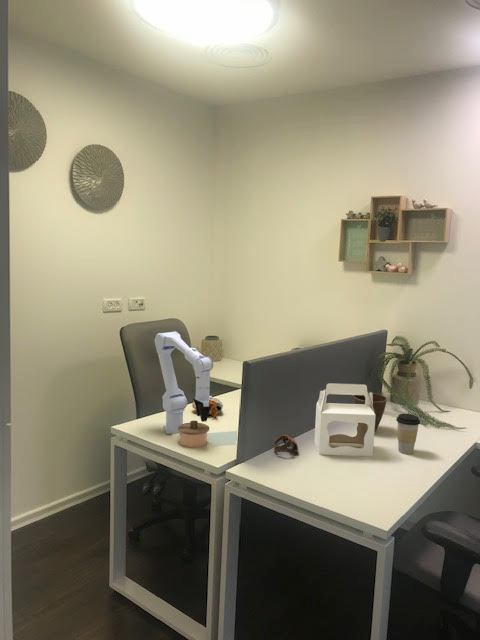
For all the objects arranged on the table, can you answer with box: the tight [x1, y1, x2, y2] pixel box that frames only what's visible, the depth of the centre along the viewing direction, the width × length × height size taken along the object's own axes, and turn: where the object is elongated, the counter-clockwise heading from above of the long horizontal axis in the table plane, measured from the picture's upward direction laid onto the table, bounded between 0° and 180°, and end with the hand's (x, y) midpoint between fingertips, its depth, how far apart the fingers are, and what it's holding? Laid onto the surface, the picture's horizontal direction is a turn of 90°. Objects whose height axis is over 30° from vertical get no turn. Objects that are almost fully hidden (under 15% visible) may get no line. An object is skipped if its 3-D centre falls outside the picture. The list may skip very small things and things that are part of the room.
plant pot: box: [353, 392, 388, 433], centre depth 233 cm, size 15×15×16 cm
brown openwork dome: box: [273, 433, 300, 456], centre depth 205 cm, size 12×10×8 cm
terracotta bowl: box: [179, 432, 208, 448], centre depth 210 cm, size 11×11×6 cm
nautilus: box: [191, 397, 224, 421], centre depth 247 cm, size 8×22×15 cm
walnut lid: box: [178, 420, 210, 435], centre depth 210 cm, size 13×13×3 cm
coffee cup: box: [395, 413, 421, 455], centre depth 209 cm, size 9×9×15 cm
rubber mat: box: [207, 430, 238, 447], centre depth 216 cm, size 15×15×1 cm
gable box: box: [313, 382, 376, 457], centre depth 208 cm, size 22×13×28 cm, turn 90°
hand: (201, 418), depth 210 cm, fingers open, 7 cm apart
